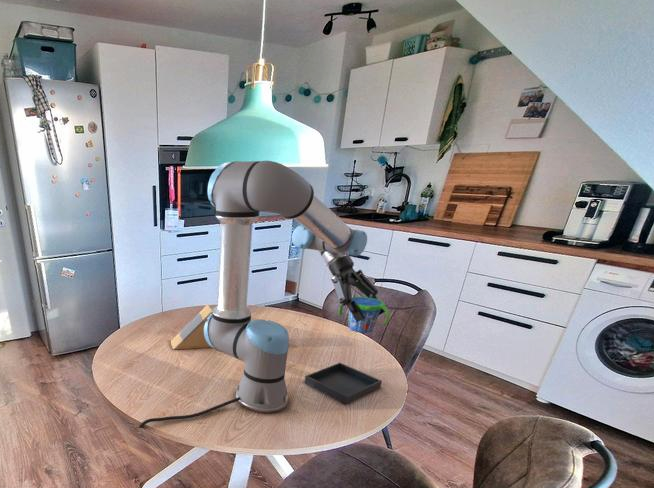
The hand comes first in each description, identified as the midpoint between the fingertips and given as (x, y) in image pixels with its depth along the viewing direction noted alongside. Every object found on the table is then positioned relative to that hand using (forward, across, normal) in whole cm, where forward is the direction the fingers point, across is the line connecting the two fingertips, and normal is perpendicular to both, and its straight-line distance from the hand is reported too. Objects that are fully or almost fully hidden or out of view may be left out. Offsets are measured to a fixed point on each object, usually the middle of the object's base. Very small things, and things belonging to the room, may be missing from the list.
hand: (371, 316), depth 127 cm
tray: (+16, +16, -10) cm, 25 cm away
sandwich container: (-21, +38, -48) cm, 65 cm away
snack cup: (+2, 0, -6) cm, 6 cm away
